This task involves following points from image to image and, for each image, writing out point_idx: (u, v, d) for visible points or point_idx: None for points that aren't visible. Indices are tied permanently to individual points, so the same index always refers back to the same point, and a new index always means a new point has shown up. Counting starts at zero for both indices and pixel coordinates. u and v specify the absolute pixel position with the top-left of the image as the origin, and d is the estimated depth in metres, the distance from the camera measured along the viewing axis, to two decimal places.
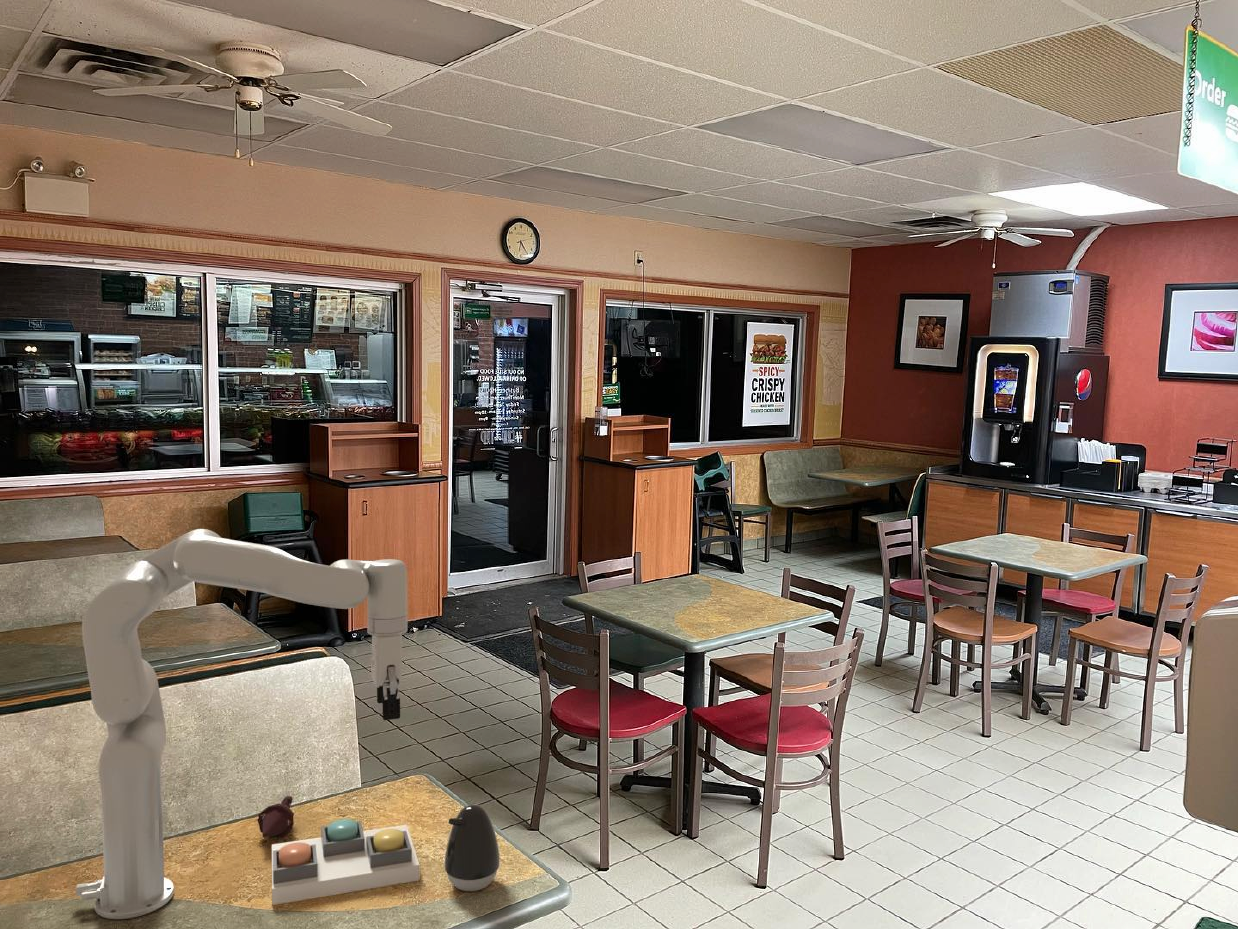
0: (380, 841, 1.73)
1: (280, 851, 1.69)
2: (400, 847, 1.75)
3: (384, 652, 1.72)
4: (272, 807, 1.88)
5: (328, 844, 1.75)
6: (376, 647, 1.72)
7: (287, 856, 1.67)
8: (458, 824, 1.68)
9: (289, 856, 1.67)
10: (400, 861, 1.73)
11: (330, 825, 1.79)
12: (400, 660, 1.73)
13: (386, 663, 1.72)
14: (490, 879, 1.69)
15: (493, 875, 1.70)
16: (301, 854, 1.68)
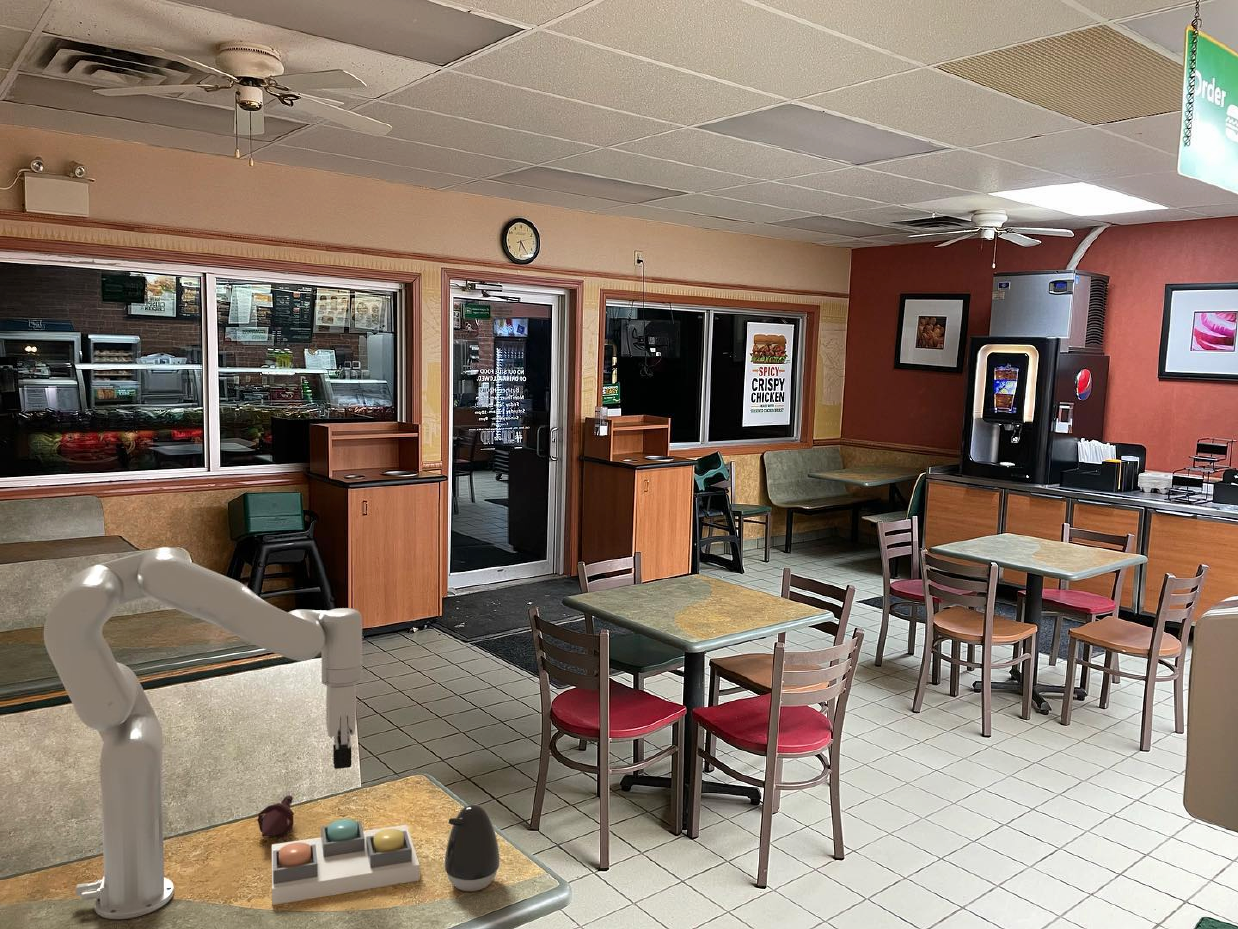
0: (380, 841, 1.73)
1: (280, 851, 1.69)
2: (400, 847, 1.75)
3: (337, 703, 1.72)
4: (272, 807, 1.88)
5: (328, 844, 1.75)
6: (329, 697, 1.73)
7: (287, 856, 1.67)
8: (458, 824, 1.68)
9: (289, 856, 1.67)
10: (400, 861, 1.73)
11: (330, 825, 1.79)
12: (353, 710, 1.74)
13: (339, 714, 1.72)
14: (490, 879, 1.69)
15: (493, 875, 1.70)
16: (301, 854, 1.68)
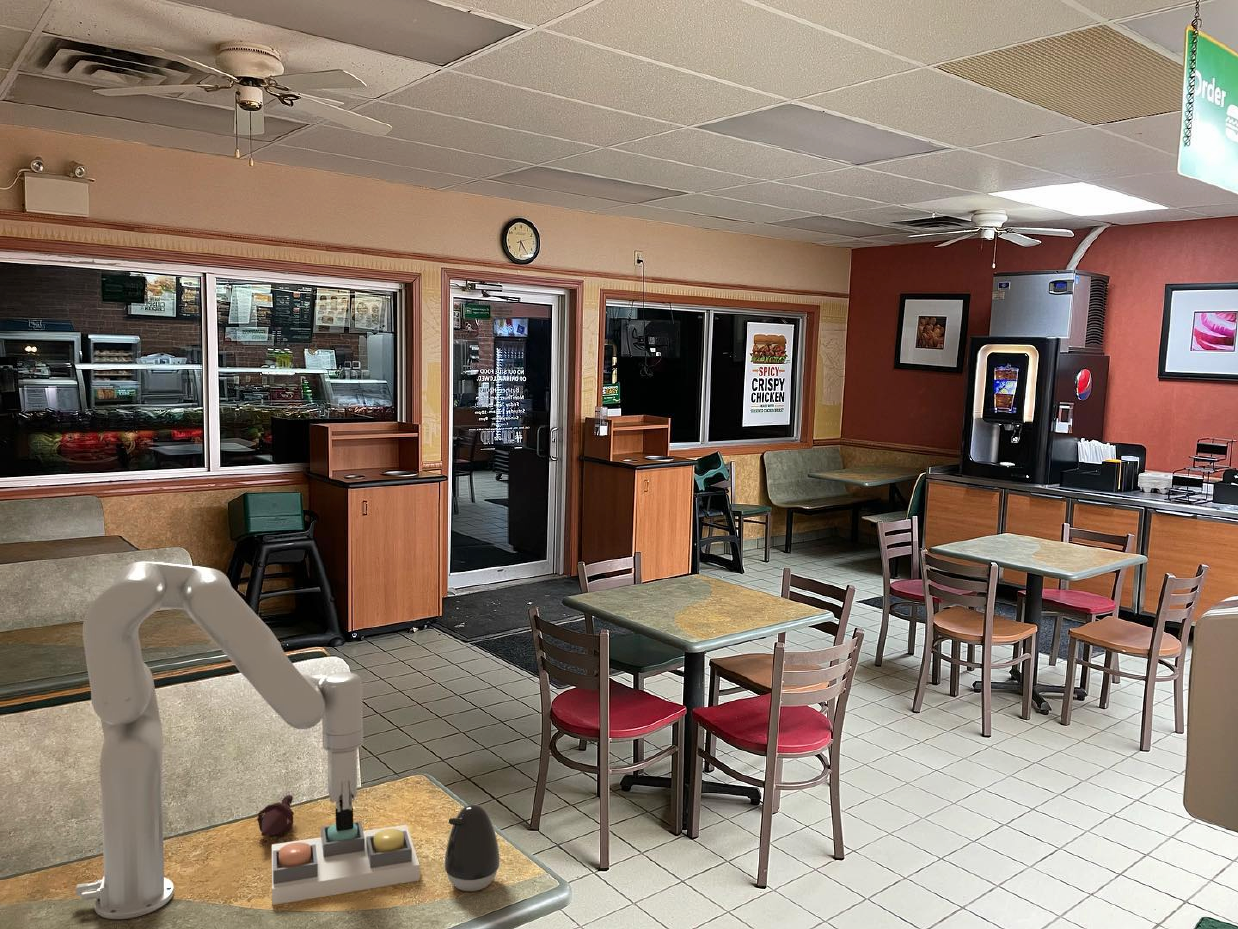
0: (380, 841, 1.73)
1: (280, 851, 1.69)
2: (400, 847, 1.75)
3: (338, 768, 1.73)
4: (272, 806, 1.88)
5: (328, 844, 1.75)
6: (331, 763, 1.74)
7: (287, 856, 1.67)
8: (458, 824, 1.68)
9: (289, 856, 1.67)
10: (400, 861, 1.73)
11: (330, 828, 1.79)
12: (355, 775, 1.75)
13: (341, 779, 1.74)
14: (490, 879, 1.69)
15: (493, 875, 1.70)
16: (301, 854, 1.68)
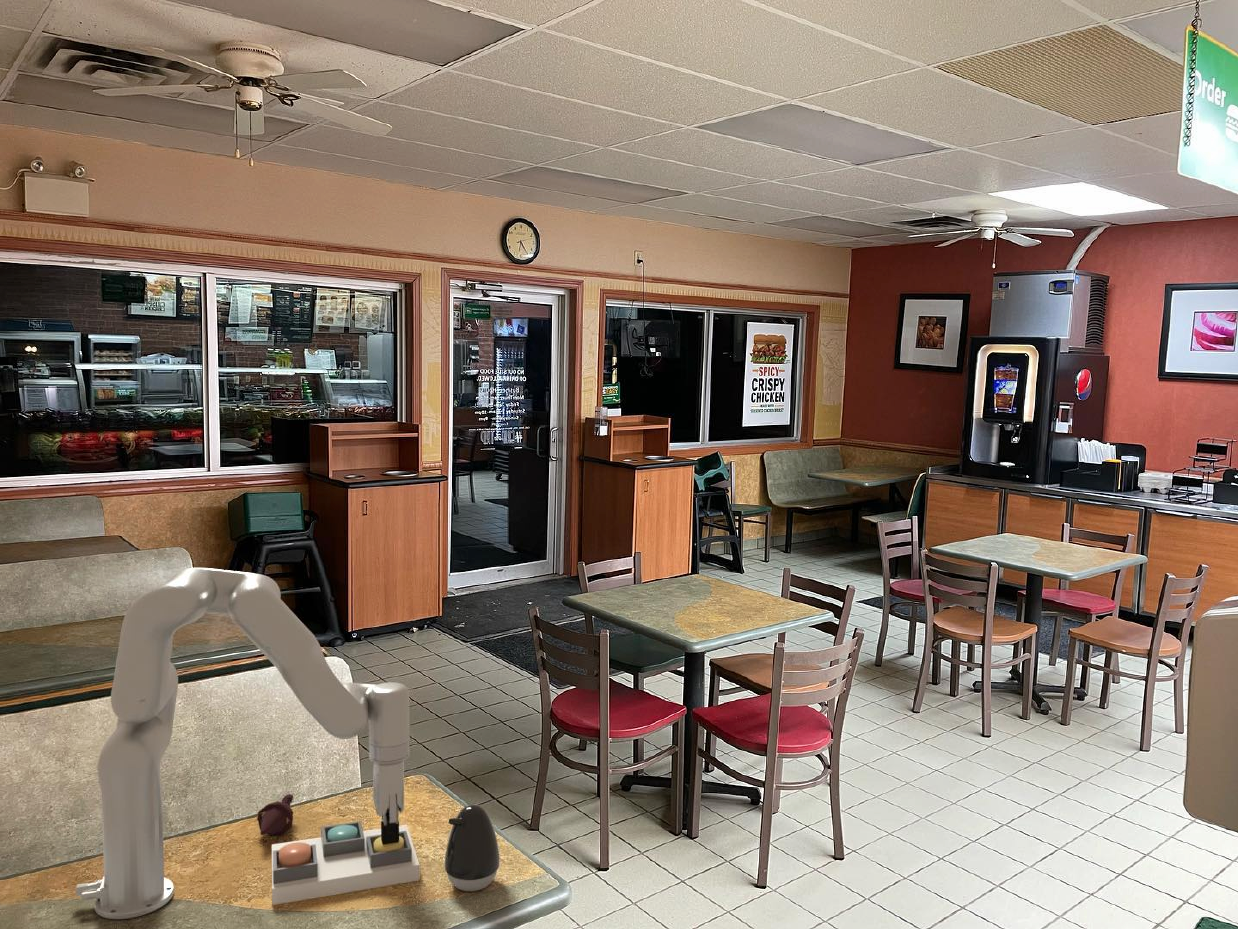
0: (380, 847, 1.74)
1: (280, 851, 1.69)
2: None
3: (386, 781, 1.70)
4: (271, 805, 1.89)
5: (328, 844, 1.75)
6: (378, 775, 1.70)
7: (287, 856, 1.67)
8: (458, 824, 1.68)
9: (289, 856, 1.67)
10: (400, 861, 1.73)
11: (330, 831, 1.79)
12: (402, 788, 1.71)
13: (388, 792, 1.70)
14: (490, 879, 1.69)
15: (493, 875, 1.70)
16: (301, 854, 1.68)
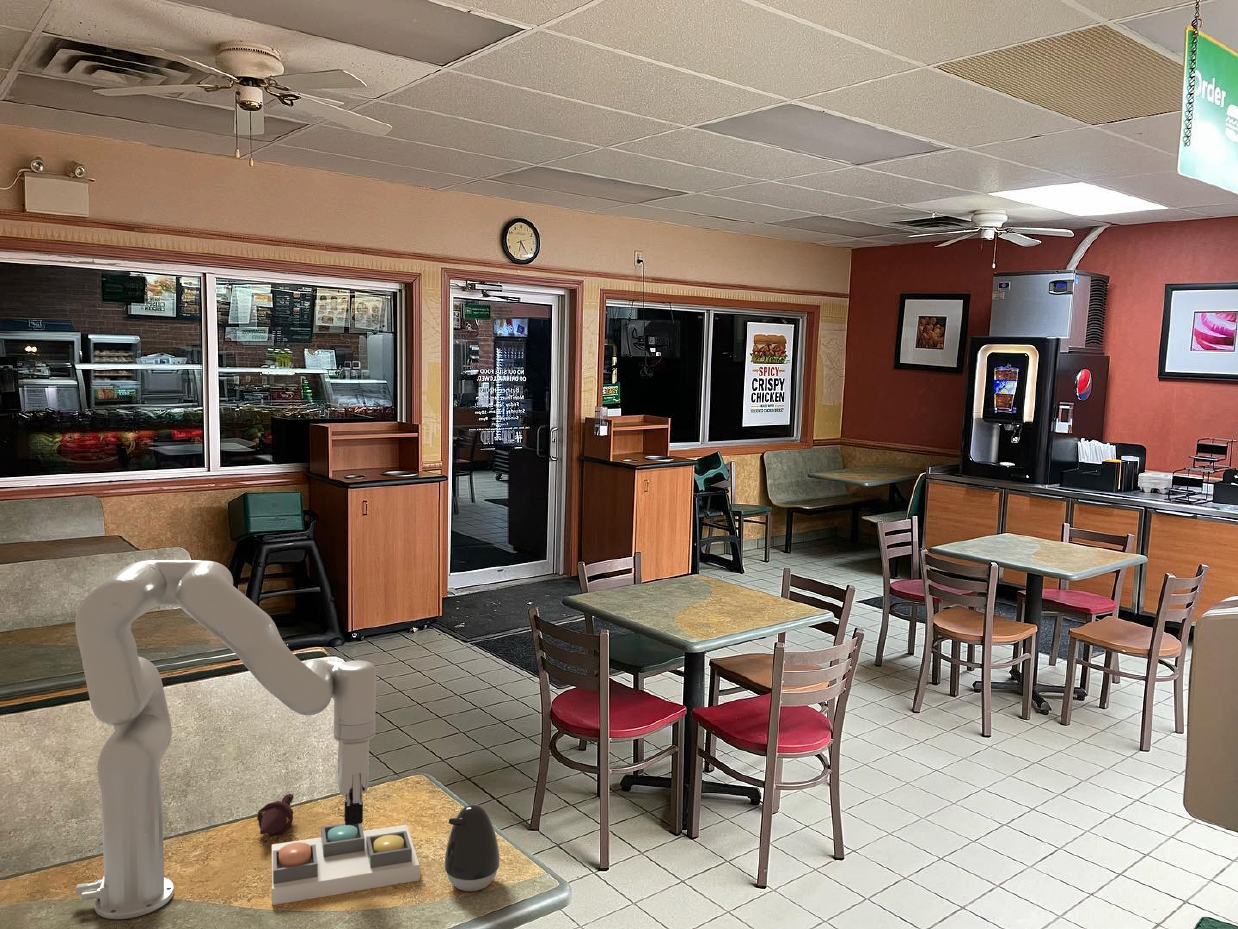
0: (380, 847, 1.74)
1: (280, 851, 1.69)
2: None
3: (350, 760, 1.67)
4: (271, 804, 1.89)
5: (328, 844, 1.75)
6: (342, 754, 1.68)
7: (287, 856, 1.67)
8: (458, 824, 1.68)
9: (289, 856, 1.67)
10: (400, 861, 1.73)
11: (330, 831, 1.79)
12: (366, 767, 1.68)
13: (352, 771, 1.67)
14: (490, 879, 1.69)
15: (493, 875, 1.70)
16: (301, 854, 1.68)
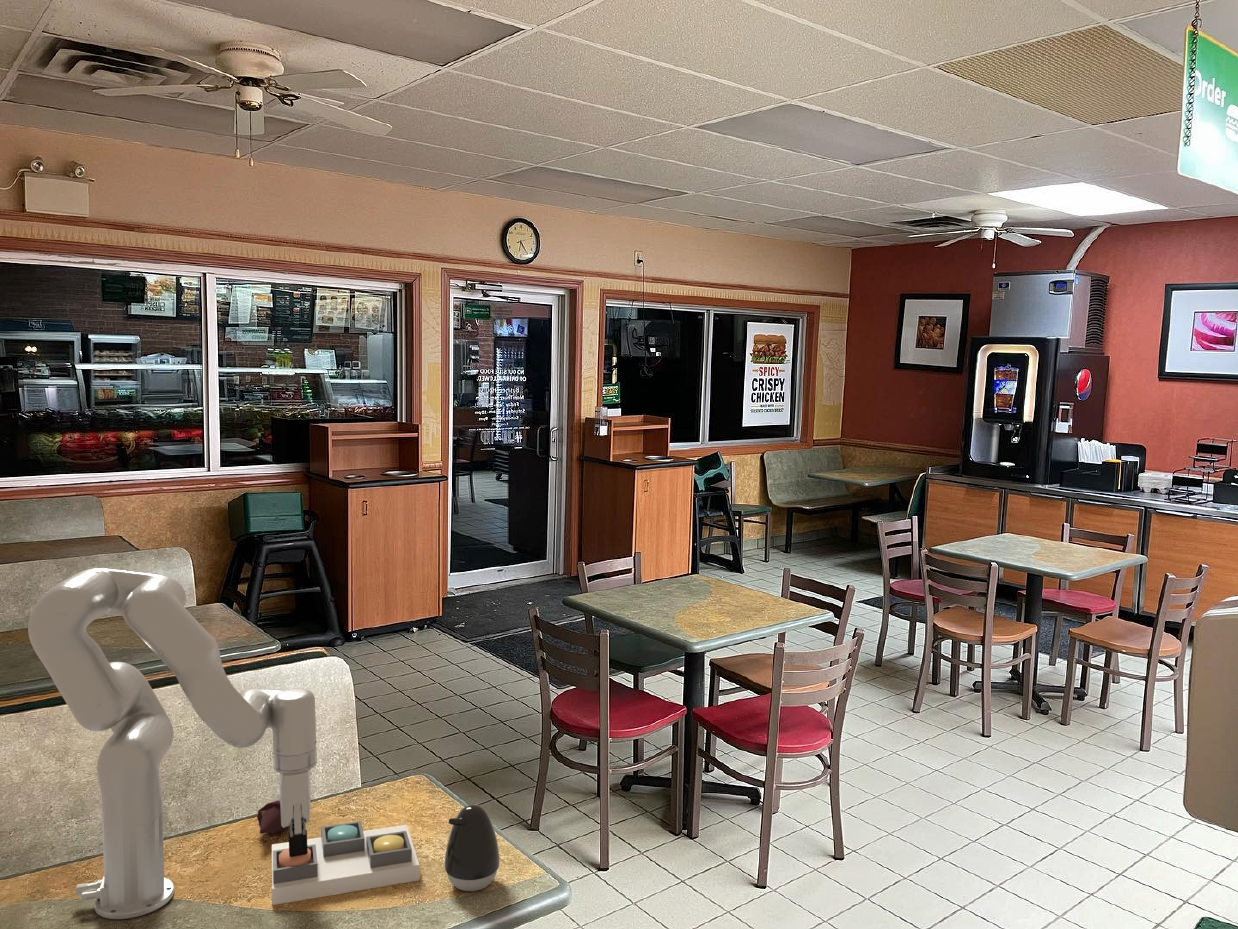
0: (380, 847, 1.74)
1: (280, 855, 1.69)
2: None
3: (289, 791, 1.64)
4: (271, 804, 1.89)
5: (328, 844, 1.75)
6: (281, 785, 1.64)
7: (287, 860, 1.67)
8: (458, 824, 1.68)
9: (289, 860, 1.67)
10: (400, 861, 1.73)
11: (330, 831, 1.79)
12: (307, 798, 1.65)
13: (292, 802, 1.64)
14: (490, 879, 1.69)
15: (493, 875, 1.70)
16: (301, 858, 1.68)
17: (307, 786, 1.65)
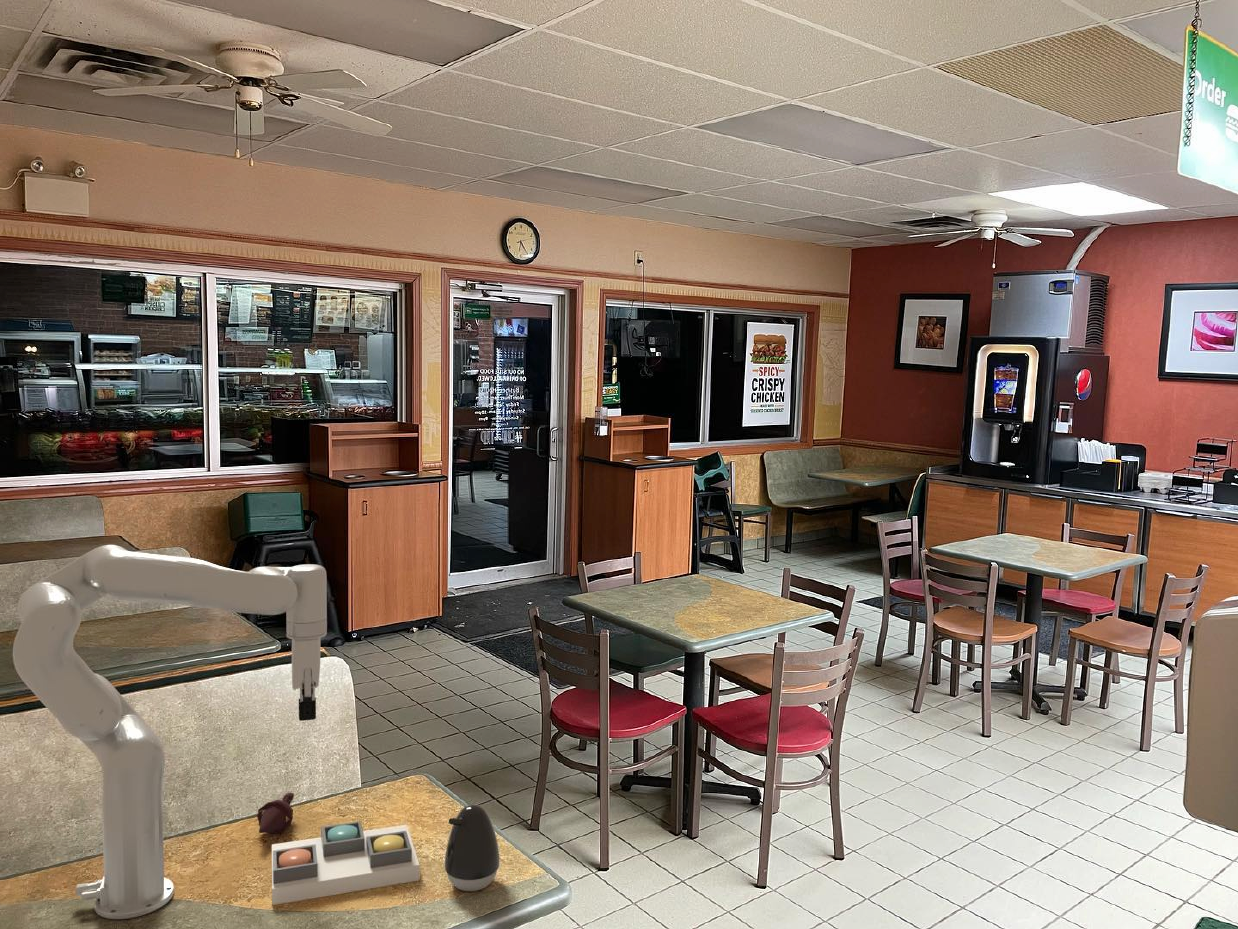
0: (380, 847, 1.74)
1: (280, 858, 1.69)
2: None
3: (301, 655, 1.76)
4: (271, 803, 1.90)
5: (328, 844, 1.75)
6: (293, 650, 1.76)
7: (287, 863, 1.67)
8: (458, 824, 1.68)
9: (289, 863, 1.67)
10: (400, 861, 1.73)
11: (330, 831, 1.79)
12: (317, 663, 1.77)
13: (303, 666, 1.76)
14: (490, 879, 1.69)
15: (493, 875, 1.70)
16: (301, 861, 1.68)
17: (317, 652, 1.77)
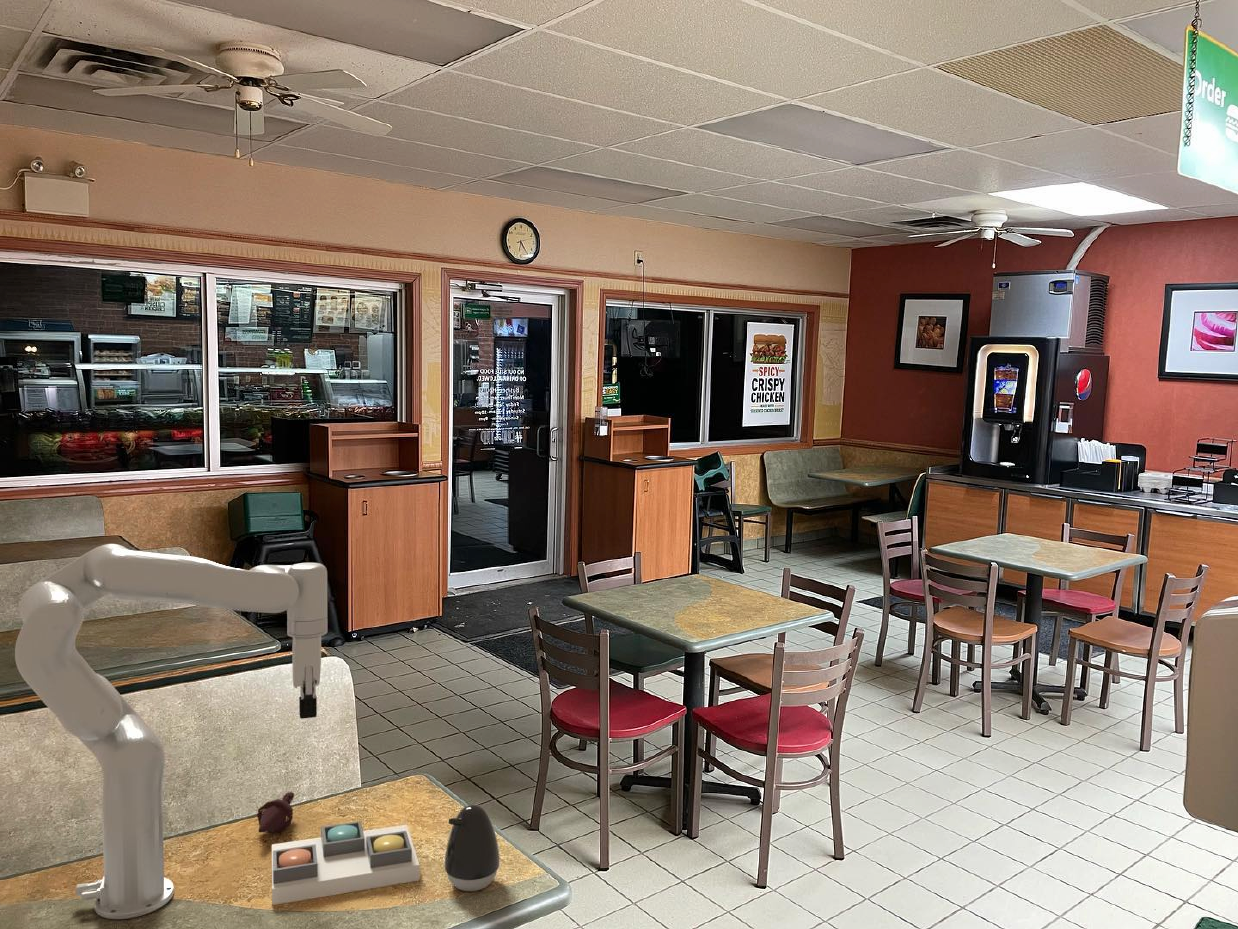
0: (380, 847, 1.74)
1: (280, 858, 1.69)
2: None
3: (302, 653, 1.76)
4: (271, 803, 1.90)
5: (328, 844, 1.75)
6: (294, 648, 1.77)
7: (287, 863, 1.67)
8: (458, 824, 1.68)
9: (289, 863, 1.67)
10: (400, 861, 1.73)
11: (330, 831, 1.79)
12: (318, 661, 1.77)
13: (304, 664, 1.76)
14: (490, 879, 1.69)
15: (493, 875, 1.70)
16: (301, 861, 1.68)
17: (318, 650, 1.78)
